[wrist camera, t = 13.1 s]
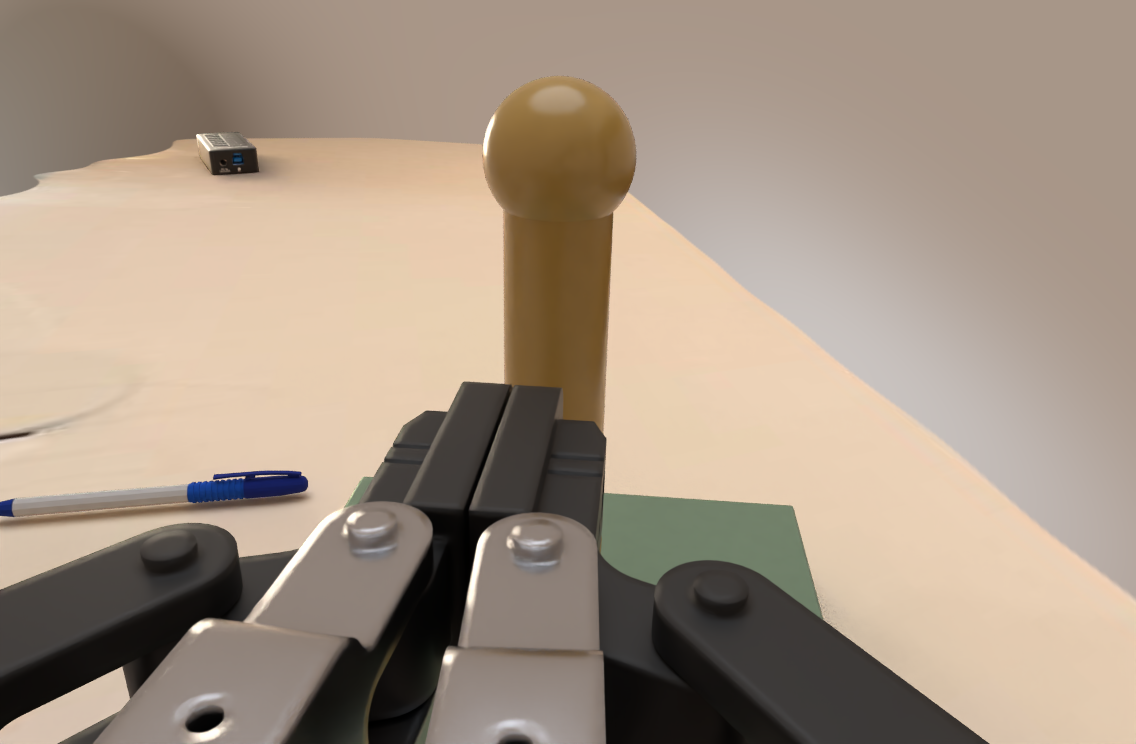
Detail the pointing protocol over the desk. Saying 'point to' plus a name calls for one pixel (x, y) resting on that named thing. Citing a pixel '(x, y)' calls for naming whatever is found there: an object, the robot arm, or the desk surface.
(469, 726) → the robot arm
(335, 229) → the desk surface
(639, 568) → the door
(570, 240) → the yellow lever
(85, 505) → the ballpoint pen
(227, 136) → the multiport hub
